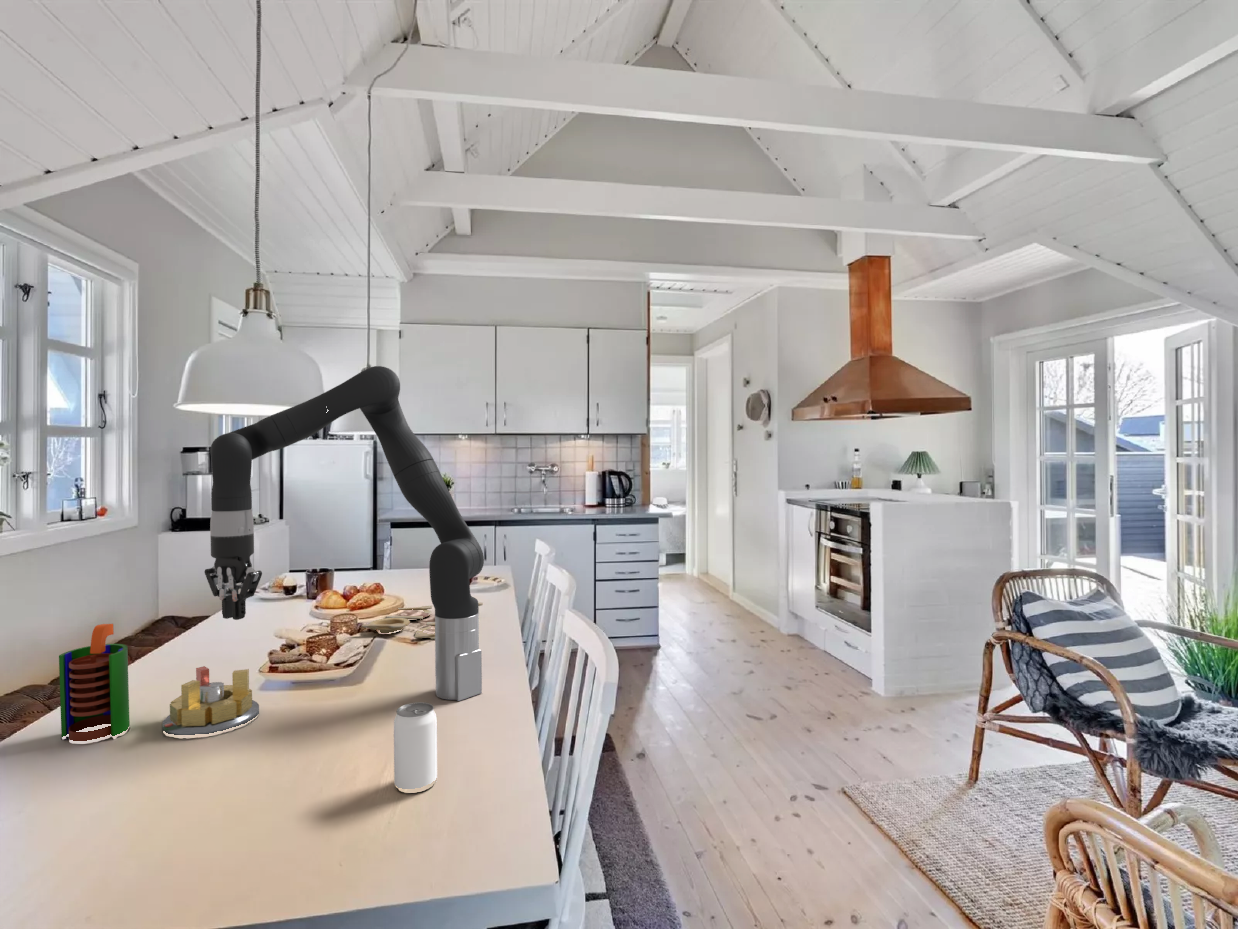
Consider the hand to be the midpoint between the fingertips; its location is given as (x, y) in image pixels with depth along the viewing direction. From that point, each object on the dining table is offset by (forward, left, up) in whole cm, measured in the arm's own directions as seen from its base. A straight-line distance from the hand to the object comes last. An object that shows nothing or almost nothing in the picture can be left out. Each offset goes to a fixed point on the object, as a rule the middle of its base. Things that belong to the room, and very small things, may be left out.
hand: (233, 617), depth 133 cm
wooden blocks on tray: (-2, +5, -17) cm, 18 cm away
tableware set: (+29, -63, -20) cm, 72 cm away
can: (-54, -7, -19) cm, 58 cm away
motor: (+8, +21, -19) cm, 29 cm away
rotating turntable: (-2, +5, -19) cm, 20 cm away
